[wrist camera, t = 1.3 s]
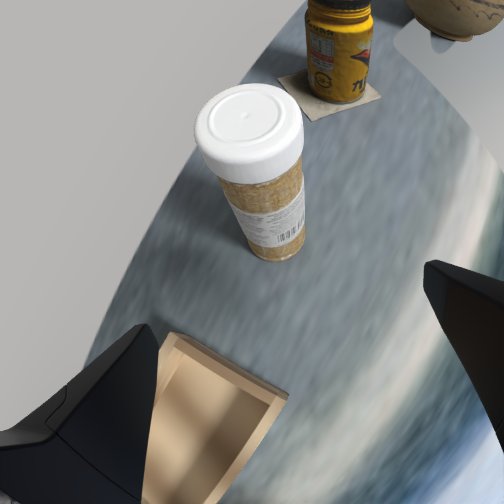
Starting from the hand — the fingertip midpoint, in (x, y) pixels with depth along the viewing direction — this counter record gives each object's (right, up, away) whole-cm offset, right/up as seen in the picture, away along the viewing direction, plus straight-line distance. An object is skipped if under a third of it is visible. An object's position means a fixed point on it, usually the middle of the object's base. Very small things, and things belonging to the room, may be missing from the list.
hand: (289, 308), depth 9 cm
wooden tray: (-9, -17, +10) cm, 22 cm away
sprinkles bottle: (+1, +3, +15) cm, 16 cm away
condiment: (+7, +19, +20) cm, 28 cm away
